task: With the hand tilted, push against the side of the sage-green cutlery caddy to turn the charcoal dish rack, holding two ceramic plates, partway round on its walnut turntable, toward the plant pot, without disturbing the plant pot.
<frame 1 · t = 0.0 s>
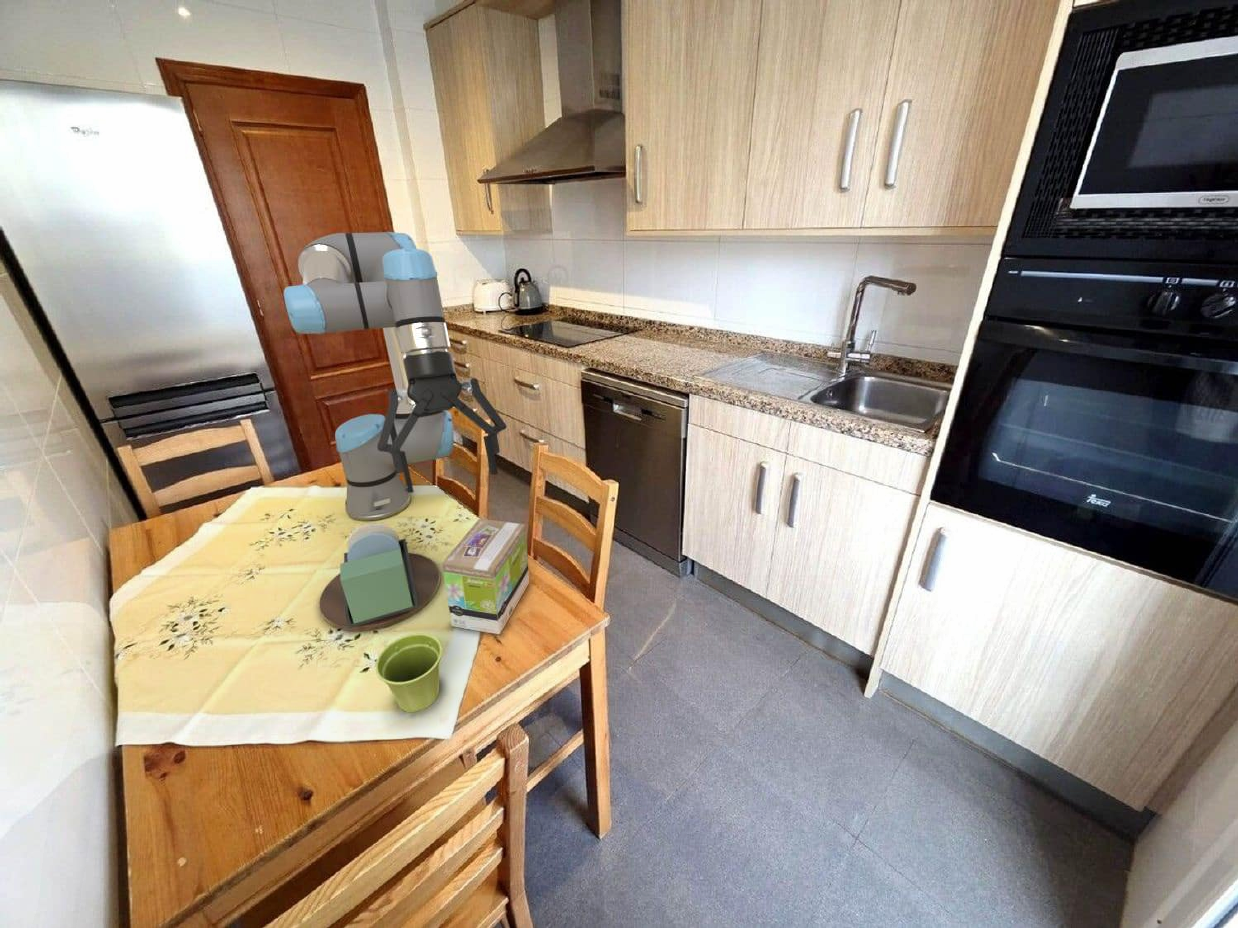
hand: (453, 482, 84), 28 cm above the table, tool tilted 20°, fingers open, 13 cm apart
dish rack: (375, 563, 98), point 7 cm above the table, hinge at 0.0°
plant pot: (419, 696, 79), on the table
tea box: (493, 604, 98), on the table
turntable: (382, 590, 101), on the table
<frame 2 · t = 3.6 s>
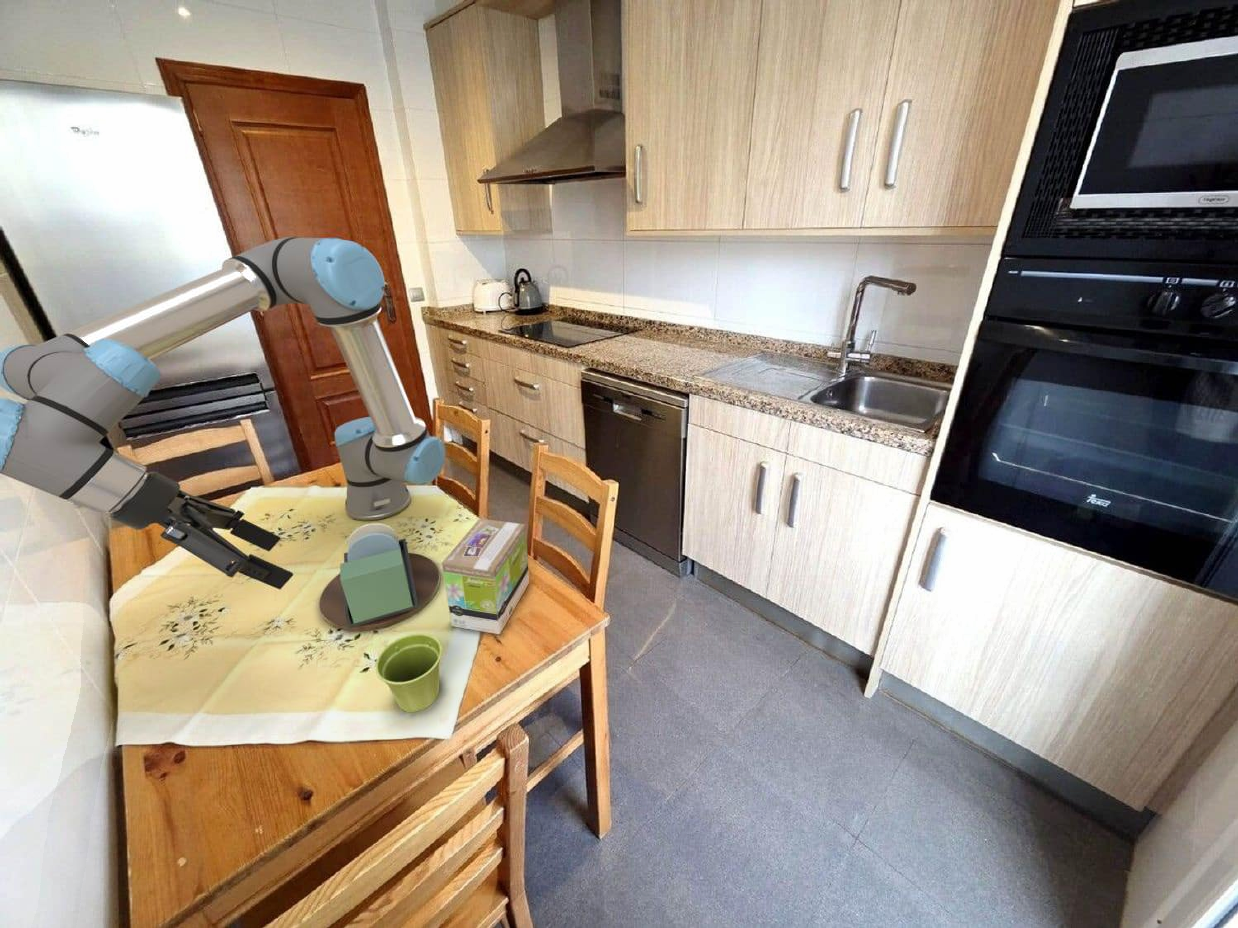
hand: (280, 561, 81), 18 cm above the table, tool tilted 35°, fingers open, 13 cm apart
nothing on the table moved.
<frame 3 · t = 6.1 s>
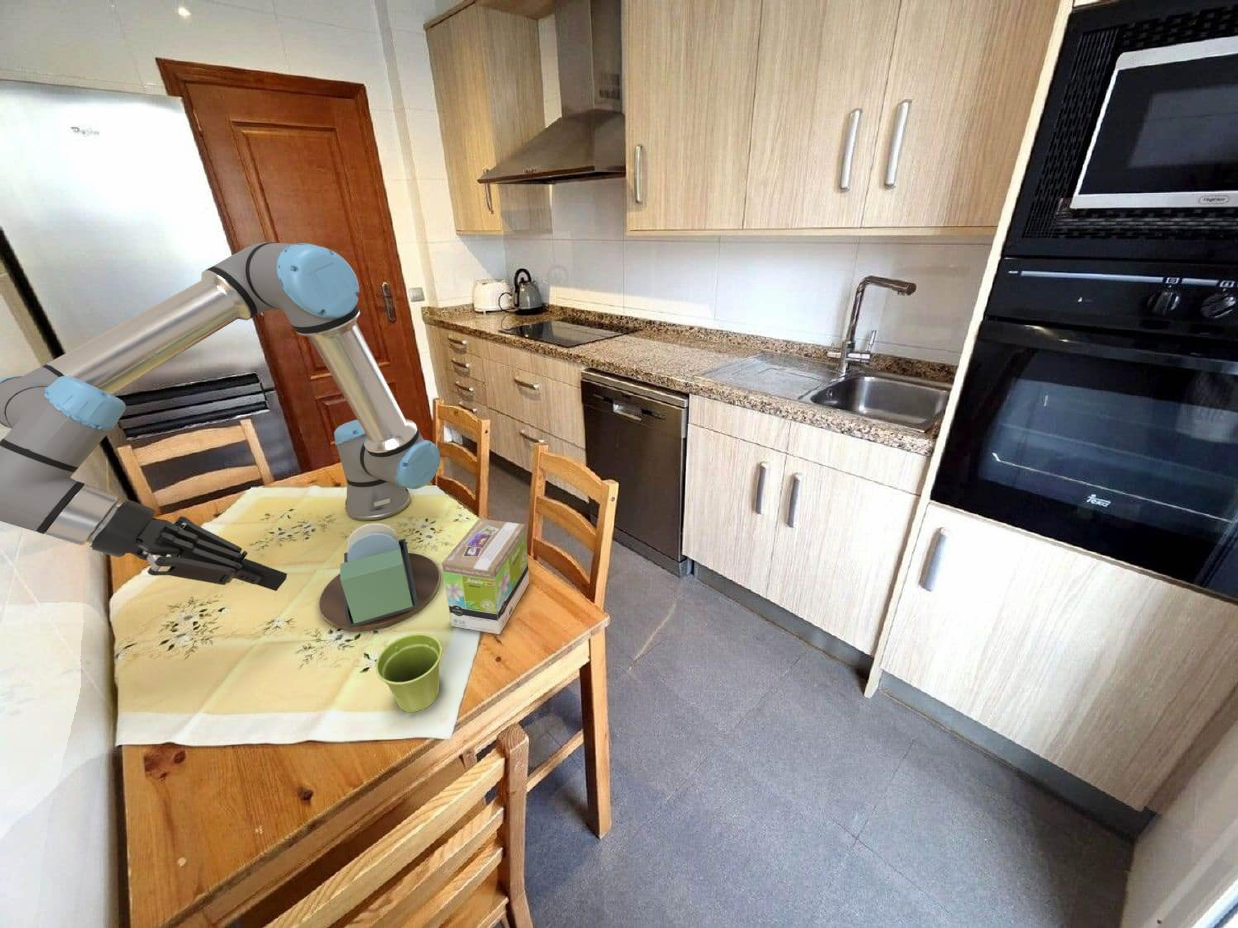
hand: (281, 582, 84), 13 cm above the table, tool tilted 45°, fingers closed
nothing on the table moved.
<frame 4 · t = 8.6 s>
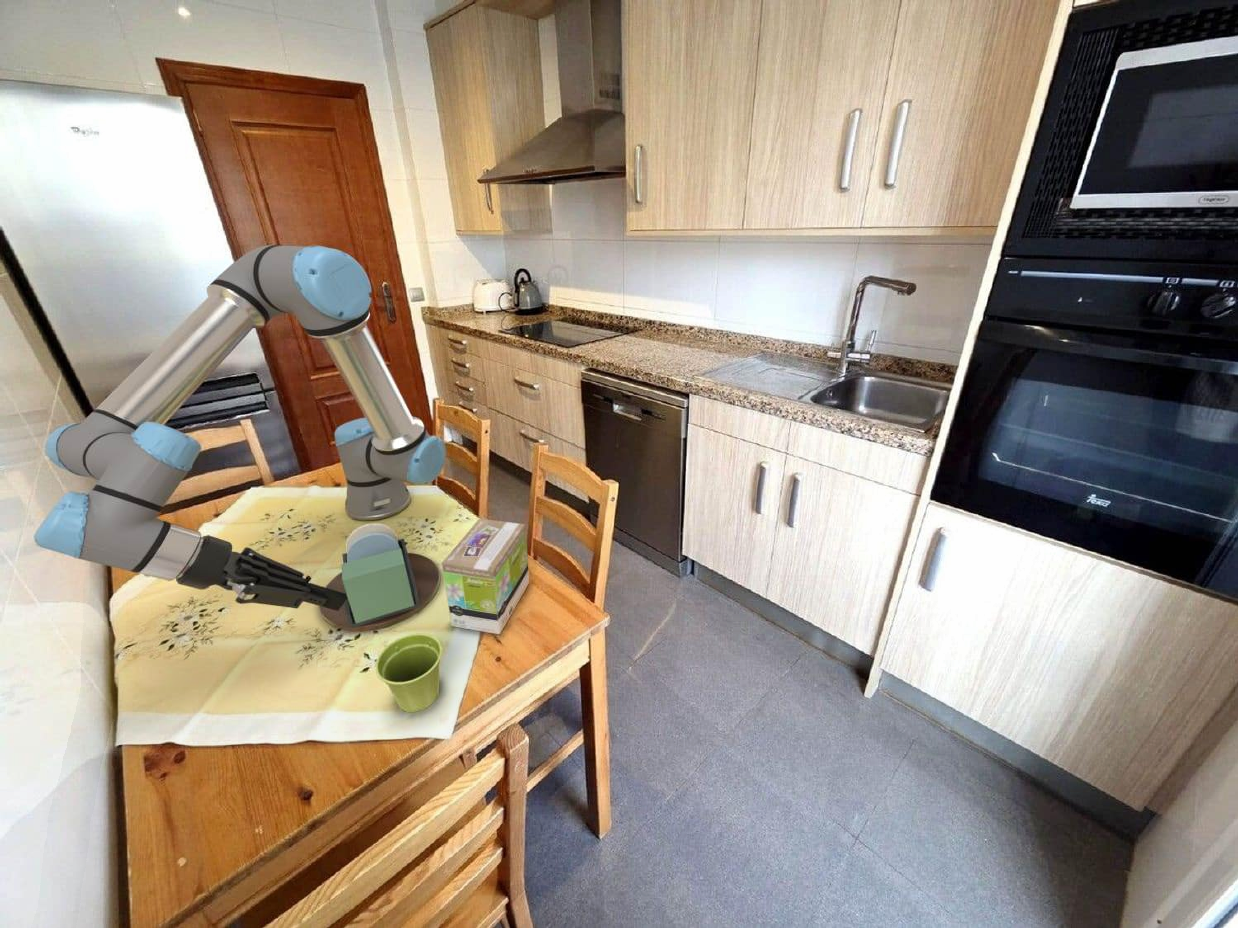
hand: (341, 602, 89), 6 cm above the table, tool tilted 45°, fingers closed
dish rack: (375, 563, 98), point 7 cm above the table, hinge at 1.7°, touching gripper
everything else where it was.
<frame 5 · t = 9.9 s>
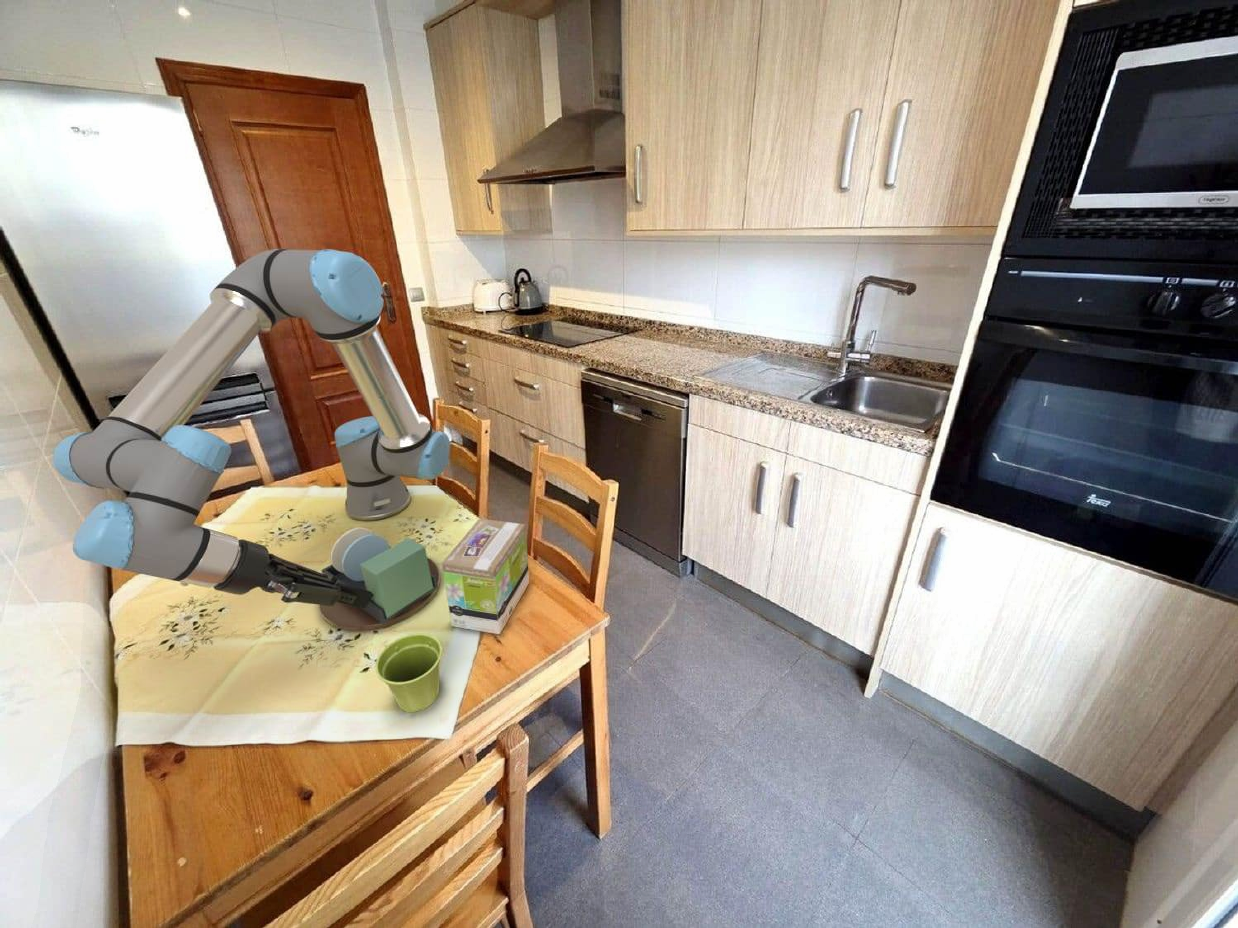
hand: (367, 599, 90), 6 cm above the table, tool tilted 45°, fingers closed
dish rack: (375, 563, 98), point 7 cm above the table, hinge at 29.0°, touching gripper
everything else where it was.
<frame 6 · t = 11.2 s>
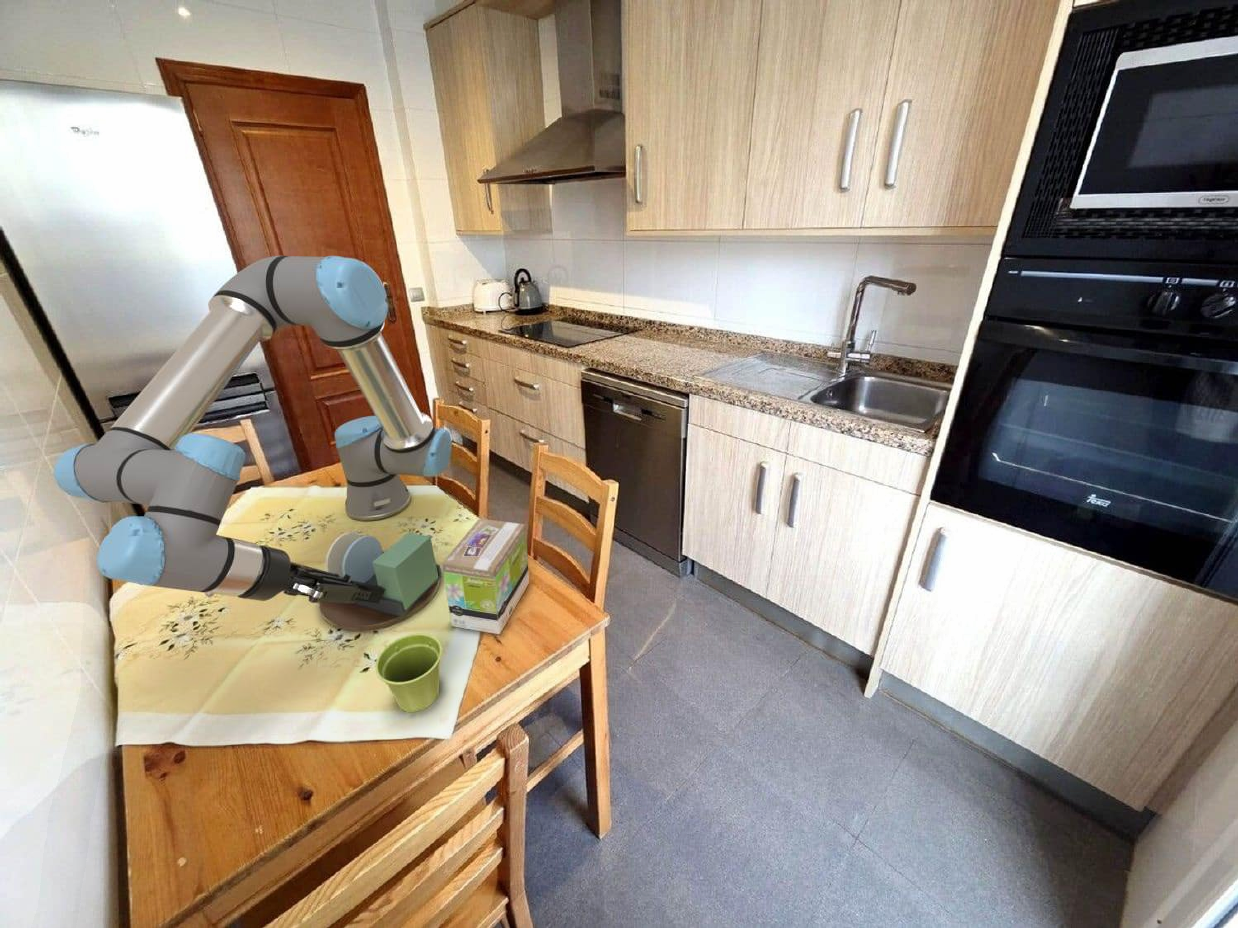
hand: (379, 594, 91), 6 cm above the table, tool tilted 45°, fingers closed
dish rack: (375, 563, 98), point 7 cm above the table, hinge at 45.4°
everything else where it was.
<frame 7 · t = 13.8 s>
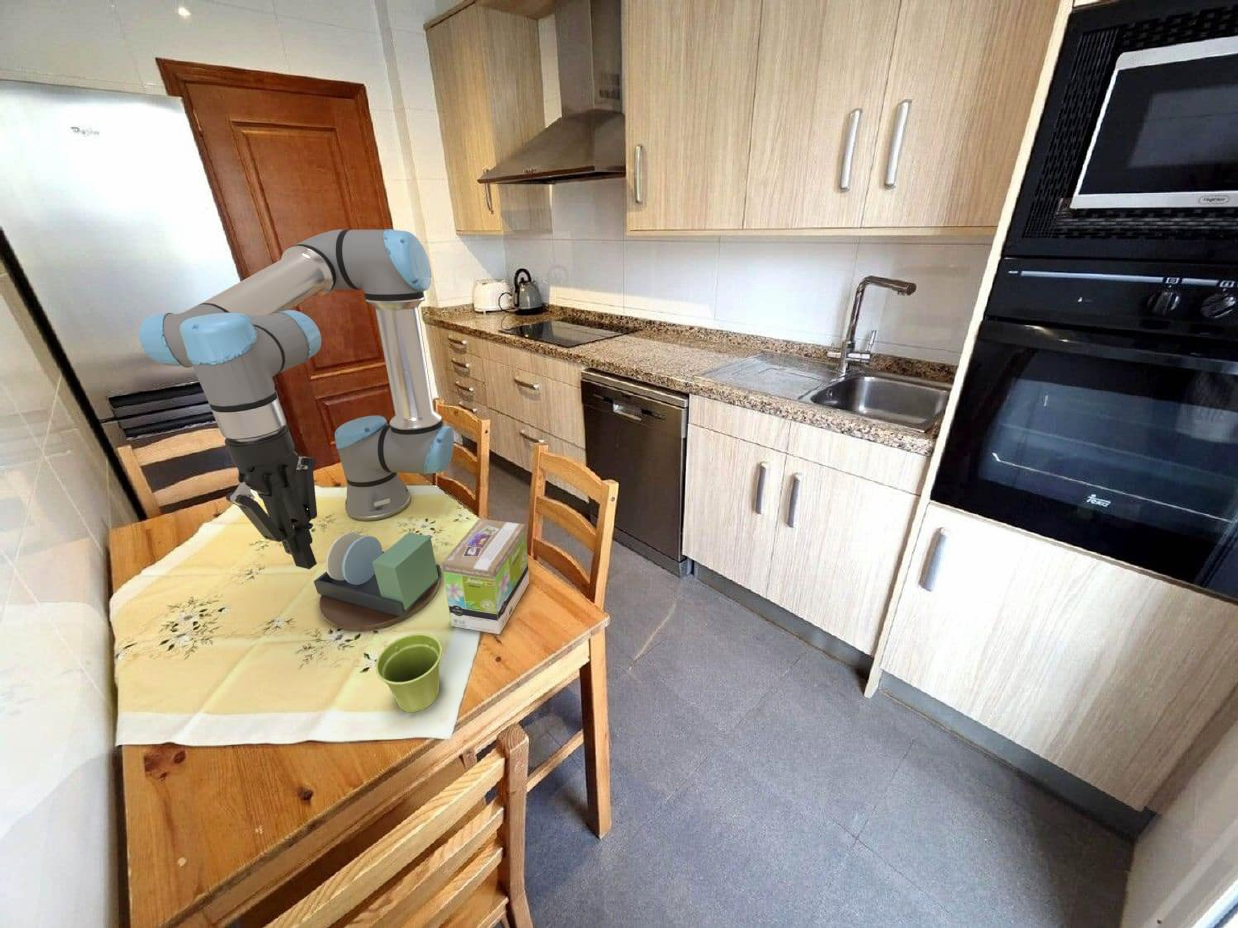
hand: (306, 564, 80), 18 cm above the table, tool pointing down, fingers closed
nothing on the table moved.
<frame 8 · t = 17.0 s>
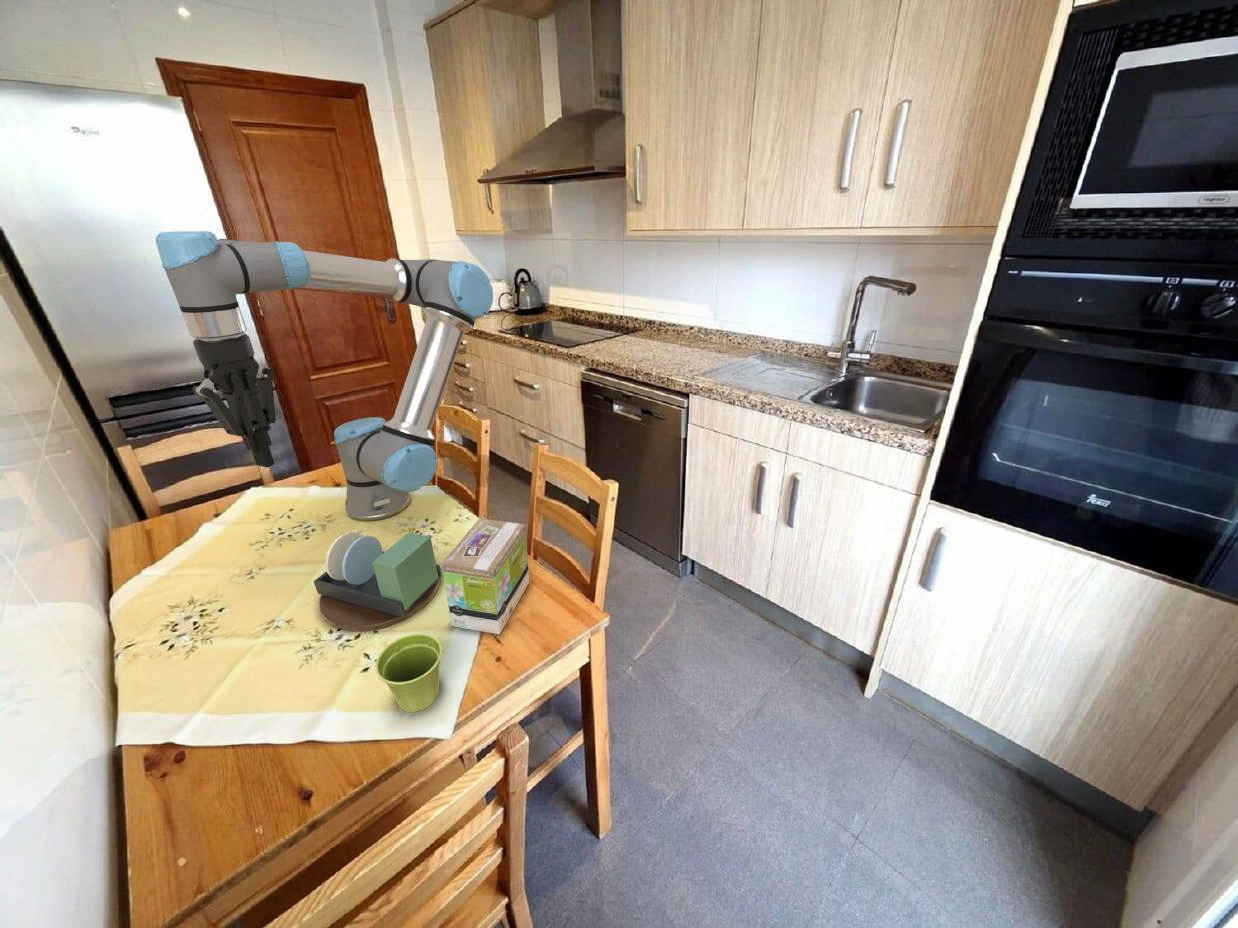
hand: (265, 464, 92), 26 cm above the table, tool pointing down, fingers closed
nothing on the table moved.
at the end: dish rack at +45° (first picture: +0°); plant pot moved 0.2 cm from its start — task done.
